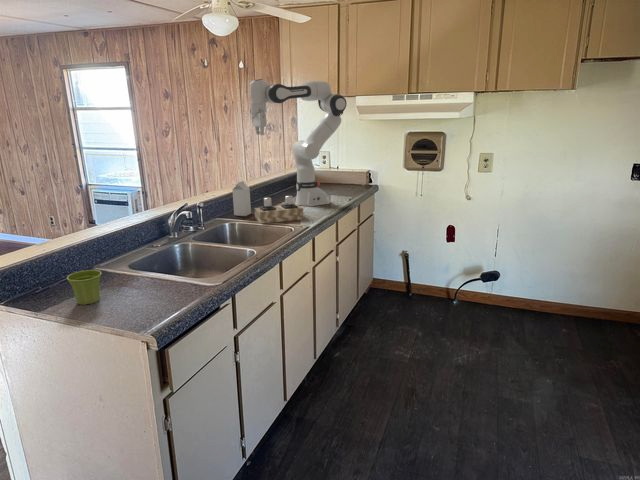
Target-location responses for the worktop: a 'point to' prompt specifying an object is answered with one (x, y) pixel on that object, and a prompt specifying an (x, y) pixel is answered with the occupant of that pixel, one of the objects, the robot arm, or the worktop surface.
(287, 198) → the peg
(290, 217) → the block
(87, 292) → the plant pot
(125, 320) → the worktop surface
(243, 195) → the milk carton
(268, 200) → the peg
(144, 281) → the worktop surface
